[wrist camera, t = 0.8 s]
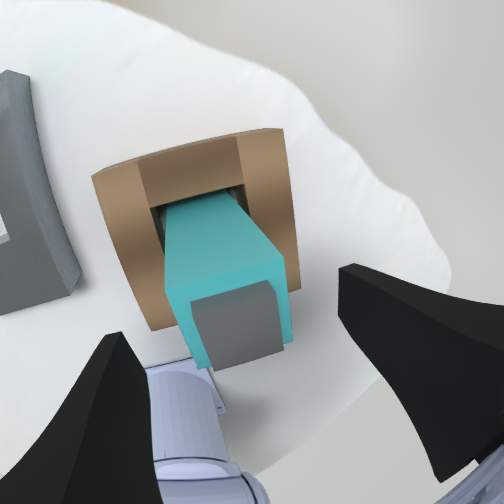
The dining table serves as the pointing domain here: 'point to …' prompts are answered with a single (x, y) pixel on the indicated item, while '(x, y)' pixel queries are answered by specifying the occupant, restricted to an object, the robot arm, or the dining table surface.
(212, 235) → the plug
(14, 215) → the port block
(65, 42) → the dining table surface
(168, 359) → the dining table surface
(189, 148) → the tan square ring
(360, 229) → the dining table surface
